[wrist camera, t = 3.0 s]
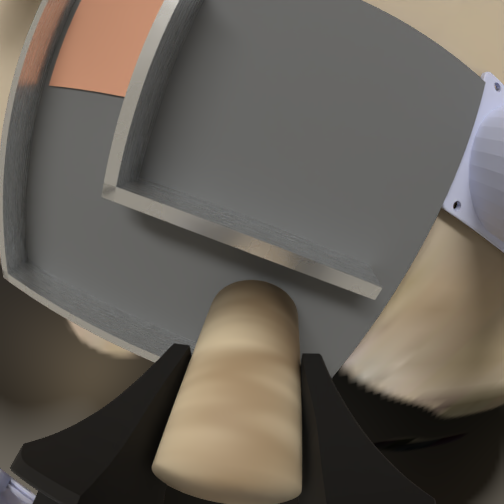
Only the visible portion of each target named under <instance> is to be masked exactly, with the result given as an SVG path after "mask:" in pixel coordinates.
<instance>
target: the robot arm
mask: <svg viewBox="0 0 504 504" xmlns="http://www.w3.org/2000/svg"><path fill="white" fill-rule="evenodd" d="M481 79H482V80H484V81H485V82H486V83H485V87H484V91H483V95H482V99H481V103H480V106H479V110H478V113H477V117H476V120H475V123H474V126H473V129H472V132H471V135H470V138H469V141H468V144H467V147H466V150H465V152H464V155H463V158H462V160H461V163H460V165H459V168H458V170H457V173H456V175H455V178H454V180H453V183H452V185H451V187H450V189H449V192H448V194H447V196H446V198H445V201H444V203H443V205H442V207H441V208H442V209H444V210H445V211H447V212H448V213H450V214H451V215H453V216H454V217H456V218H457V219H459V220H460V221H462V222H463V223H464V224H466V225H467V226H469V227H470V228H472V229H473V230H474V231H476V232H477V233H478V234H480V235H481V236H482V237H484V238H485V239H486V240H488V241H489V242H490V243H492V244H493V245H494V246H496V247H497V248H498V249H499V250H501V251H502V252H503V253H504V85H503V84H502V83H501V82H500V81H499V80H498V79H497V78H496V77H495V76H494V75H493V74H492V73H490V72H484V73H482V75H481ZM494 84H495V86H496V89H495V87H494ZM456 201H457V206H456V208H455V209H453V205H454V203H455V202H456ZM191 357H192V355H191V349H190V345H184V344H176V343H174V344H173V345H172V346H171V347H170V348H169V349H168V350H167V351H166V352H165V353H164V354H163V355H162V356H161V357H160V358H159V359H158V360H157V361H156V362H155V363H154V364H153V365H152V366H151V367H150V368H149V369H148V370H147V371H146V372H145V373H144V374H143V375H142V376H141V377H140V378H139V379H138V380H137V381H135V382H134V383H133V384H132V385H131V386H130V387H129V388H128V389H126V390H125V391H124V392H123V393H122V394H120V395H119V396H118V397H117V398H115V399H114V400H113V401H111V402H110V403H109V404H107V405H106V406H105V407H103V408H102V409H100V410H99V411H97V412H96V413H94V414H92V415H91V416H89V417H87V418H86V419H84V420H82V421H80V422H79V423H77V424H75V425H73V426H71V427H69V428H67V429H65V430H62V431H60V432H58V433H55V434H53V435H50V436H48V437H45V438H42V439H39V440H35V441H32V442H29V443H25V444H23V446H22V448H21V449H20V451H19V453H18V454H17V456H16V458H15V460H14V462H13V463H12V465H11V467H10V469H11V471H12V472H14V473H15V474H16V475H17V476H19V477H20V478H21V479H22V480H24V481H25V482H26V483H28V484H29V485H31V486H32V487H33V488H35V489H36V490H38V493H37V495H35V494H33V493H32V492H31V491H30V490H28V489H27V488H26V487H24V486H23V485H21V484H20V483H19V482H18V481H16V480H15V479H14V478H12V477H11V476H10V475H8V474H7V473H6V472H4V471H3V470H2V469H1V468H0V504H163V503H164V496H165V491H166V486H167V484H166V483H164V482H163V481H161V480H160V479H159V478H158V477H156V476H155V474H154V473H153V471H152V464H153V461H154V459H155V456H156V453H157V450H158V447H159V444H160V441H161V439H162V436H163V433H164V430H165V427H166V425H167V422H168V419H169V416H170V413H171V411H172V408H173V405H174V402H175V400H176V397H177V394H178V392H179V389H180V386H181V383H182V381H183V378H184V375H185V373H186V370H187V367H188V365H189V362H190V359H191ZM300 368H301V398H302V492H301V493H300V495H299V498H298V504H436V502H435V499H434V498H433V497H431V496H430V495H428V494H427V493H425V492H424V491H423V490H421V489H420V488H419V487H418V486H416V485H415V484H414V483H412V482H411V481H410V480H409V479H408V478H406V477H405V476H404V475H403V474H402V473H400V471H399V470H397V468H396V467H395V466H394V465H393V464H392V463H391V462H390V461H389V460H388V459H387V458H386V457H385V456H384V455H383V454H382V453H381V452H380V451H379V450H378V448H377V447H376V446H375V445H374V444H373V443H372V441H371V440H370V439H369V438H368V436H367V435H366V434H365V433H364V431H363V430H362V428H361V427H360V426H359V424H358V423H357V421H356V420H355V418H354V417H353V415H352V414H351V412H350V411H349V409H348V407H347V406H346V404H345V402H344V401H343V399H342V397H341V395H340V393H339V392H338V390H337V388H336V386H335V384H334V382H333V380H332V378H331V376H330V374H329V372H328V370H327V367H326V365H325V363H324V360H323V358H322V356H321V355H320V354H319V353H302V359H301V365H300Z"/></svg>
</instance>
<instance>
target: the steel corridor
mask: <svg viewBox="0 0 504 504" xmlns="http://www.w3.org/2000/svg"><path fill="white" fill-rule="evenodd" d="M74 2H75V0H42V2H41V4H40V6H39V8H38V10H37V12H36V15H35V17H34V19H33V22H32V24H31V27H30V29H29V32H28V34H27V37H26V40H25V42H24V45H23V48H22V51H21V54H20V57H19V60H18V63H17V67H16V70H15V74H14V77H13V81H12V85H11V89H10V94H9V98H8V103H7V108H6V113H5V119H4V125H3V131H2V139H1V147H0V254H1V263H2V270H3V277H4V278H5V279H6V280H8V281H9V282H10V283H12V284H14V285H15V286H16V287H18V288H19V289H21V290H22V291H23V292H25V293H26V294H28V295H29V296H31V297H32V298H34V299H35V300H37V301H38V302H40V303H42V304H43V305H45V306H46V307H48V308H50V309H51V310H53V311H55V312H56V313H58V314H59V315H61V316H63V317H65V318H66V319H68V320H70V321H72V322H73V323H75V324H77V325H79V326H80V327H82V328H84V329H86V330H88V331H90V332H92V333H93V334H95V335H97V336H99V337H101V338H103V339H105V340H107V341H109V342H111V343H113V344H115V345H117V346H119V347H122V348H124V349H126V350H128V351H130V352H132V353H134V354H137V355H139V356H141V357H143V358H146V359H148V360H150V361H153V362H156V361H157V360H158V359H159V358H160V357H161V356H162V355H163V354H164V353H165V352H166V351H167V350H168V349H169V348H170V347H171V346H172V345H173V344H174V343H176V344H184V345H190V349H191V355H192V354H193V351H194V349H195V346H196V343H197V342H196V341H193V340H190V339H188V338H185V337H183V336H180V335H178V334H175V333H173V332H170V331H168V330H165V329H163V328H160V327H158V326H156V325H153V324H151V323H149V322H146V321H144V320H142V319H139V318H137V317H135V316H133V315H131V314H128V313H126V312H124V311H122V310H120V309H118V308H115V307H113V306H111V305H109V304H107V303H105V302H103V301H101V300H99V299H97V298H95V297H93V296H91V295H89V294H87V293H85V292H83V291H81V290H79V289H77V288H76V287H74V286H72V285H70V284H68V283H66V282H64V281H63V280H61V279H59V278H57V277H55V276H54V275H52V274H50V273H48V272H47V271H45V270H43V269H42V268H40V267H38V266H37V265H35V264H33V263H32V262H30V261H28V260H27V251H26V192H27V177H28V167H29V158H30V150H31V143H32V136H33V130H34V125H35V120H36V115H37V110H38V105H39V101H40V97H41V93H42V89H43V85H44V82H45V78H46V75H47V71H48V68H49V65H50V62H51V59H52V56H53V53H54V50H55V47H56V44H57V42H58V39H59V37H60V34H61V32H62V29H63V27H64V24H65V22H66V20H67V17H68V15H69V13H70V11H71V9H72V6H73V4H74ZM202 2H203V0H164V2H163V4H162V6H161V8H160V10H159V12H158V14H157V16H156V18H155V20H154V22H153V24H152V27H151V29H150V31H149V33H148V36H147V38H146V40H145V43H144V45H143V48H142V50H141V53H140V55H139V58H138V60H137V63H136V66H135V68H134V71H133V74H132V77H131V80H130V83H129V86H128V89H127V92H126V95H125V98H124V101H123V104H122V108H121V111H120V115H119V118H118V122H117V126H116V129H115V133H114V137H113V141H112V146H111V150H110V154H109V159H108V164H107V168H106V173H105V179H104V184H103V190H102V196H101V197H103V198H105V199H108V200H111V201H113V202H116V203H119V204H121V205H124V206H127V207H129V208H132V209H134V210H137V211H140V212H142V213H145V214H148V215H150V216H153V217H156V218H158V219H161V220H163V221H166V222H169V223H171V224H174V225H177V226H179V227H182V228H185V229H187V230H190V231H193V232H195V233H198V234H200V235H203V236H206V237H208V238H211V239H214V240H216V241H219V242H222V243H224V244H227V245H230V246H232V247H235V248H238V249H240V250H243V251H246V252H248V253H251V254H253V255H256V256H259V257H261V258H264V259H267V260H269V261H272V262H275V263H277V264H280V265H283V266H285V267H288V268H291V269H293V270H296V271H299V272H301V273H304V274H307V275H309V276H312V277H315V278H317V279H320V280H323V281H325V282H328V283H331V284H333V285H336V286H339V287H341V288H344V289H347V290H349V291H352V292H355V293H357V294H360V295H363V296H365V297H368V298H371V299H373V300H375V299H376V298H377V296H378V295H379V293H380V291H381V290H382V286H381V284H380V282H379V281H378V279H377V277H376V275H375V274H374V272H373V270H372V268H371V267H370V265H368V264H365V263H363V262H361V261H358V260H356V259H353V258H351V257H349V256H346V255H344V254H341V253H339V252H336V251H334V250H332V249H329V248H327V247H324V246H322V245H319V244H317V243H314V242H312V241H309V240H307V239H304V238H302V237H299V236H297V235H294V234H292V233H289V232H287V231H284V230H282V229H279V228H276V227H274V226H271V225H269V224H266V223H264V222H261V221H258V220H256V219H253V218H250V217H248V216H245V215H243V214H240V213H237V212H235V211H232V210H229V209H226V208H224V207H221V206H218V205H216V204H213V203H210V202H207V201H205V200H202V199H199V198H196V197H194V196H191V195H188V194H185V193H183V192H180V191H177V190H174V189H171V188H168V187H166V186H163V185H160V184H157V183H154V182H151V181H148V180H145V179H142V178H139V176H140V172H141V168H142V164H143V160H144V156H145V153H146V149H147V145H148V142H149V138H150V135H151V131H152V128H153V125H154V122H155V118H156V115H157V112H158V109H159V106H160V103H161V100H162V97H163V94H164V91H165V88H166V86H167V83H168V80H169V77H170V75H171V72H172V70H173V67H174V64H175V62H176V59H177V57H178V54H179V52H180V50H181V47H182V45H183V43H184V40H185V38H186V36H187V33H188V31H189V29H190V27H191V25H192V23H193V20H194V18H195V16H196V14H197V12H198V10H199V8H200V6H201V4H202Z"/></svg>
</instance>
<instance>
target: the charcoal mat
mask: <svg viewBox="0 0 504 504" xmlns="http://www.w3.org/2000/svg"><path fill="white" fill-rule="evenodd" d="M163 2H164V0H75V2H74V4H73V6H72V9H71V11H70V13H69V15H68V17H67V20H66V22H65V24H64V27H63V29H62V32H61V34H60V37H59V39H58V42H57V44H56V47H55V50H54V53H53V56H52V59H51V62H50V65H49V68H48V71H47V75H46V78H45V82H44V85H43V89H42V93H41V97H40V101H39V105H38V110H37V115H36V120H35V125H34V130H33V136H32V143H31V150H30V158H29V167H28V177H27V192H26V251H27V260H28V261H30V262H32V263H33V264H35V265H37V266H38V267H40V268H42V269H43V270H45V271H47V272H48V273H50V274H52V275H54V276H55V277H57V278H59V279H61V280H63V281H64V282H66V283H68V284H70V285H72V286H74V287H76V288H77V289H79V290H81V291H83V292H85V293H87V294H89V295H91V296H93V297H95V298H97V299H99V300H101V301H103V302H105V303H107V304H109V305H111V306H113V307H115V308H118V309H120V310H122V311H124V312H126V313H128V314H131V315H133V316H135V317H137V318H139V319H142V320H144V321H146V322H149V323H151V324H153V325H156V326H158V327H160V328H163V329H165V330H168V331H170V332H173V333H175V334H178V335H180V336H183V337H185V338H188V339H190V340H193V341H196V342H197V341H198V338H199V335H200V333H201V330H202V328H203V325H204V322H205V320H206V317H207V314H208V312H209V309H210V307H211V304H212V302H213V300H214V298H215V296H216V295H217V294H218V293H219V291H221V290H222V289H223V288H224V287H226V286H228V285H230V284H232V283H235V282H238V281H243V280H260V281H265V282H268V283H271V284H273V285H276V286H277V287H279V288H281V289H282V290H284V291H285V292H286V293H287V294H288V295H289V296H290V297H291V298H292V300H293V301H294V303H295V305H296V308H297V312H298V324H299V344H300V365H301V359H302V353H319V354H320V355H321V356H322V358H323V360H324V363H325V365H326V367H327V370H328V372H329V374H330V376H331V378H332V377H333V376H334V375H335V373H336V372H337V371H338V370H339V369H340V367H341V366H342V365H343V364H344V362H345V361H346V360H347V359H348V357H349V356H350V355H351V353H352V352H353V351H354V349H355V348H356V347H357V346H358V344H359V343H360V342H361V340H362V339H363V337H364V336H365V335H366V333H367V332H368V331H369V329H370V328H371V326H372V325H373V324H374V322H375V321H376V319H377V318H378V316H379V315H380V313H381V312H382V310H383V309H384V307H385V306H386V304H387V303H388V301H389V300H390V298H391V297H392V295H393V294H394V292H395V291H396V289H397V287H398V286H399V284H400V283H401V281H402V279H403V278H404V276H405V274H406V273H407V271H408V269H409V268H410V266H411V264H412V262H413V261H414V259H415V257H416V255H417V254H418V252H419V250H420V248H421V246H422V245H423V243H424V241H425V239H426V237H427V235H428V233H429V231H430V229H431V227H432V225H433V223H434V221H435V219H436V217H437V215H438V213H439V211H440V209H441V207H442V205H443V203H444V201H445V198H446V196H447V194H448V192H449V189H450V187H451V185H452V183H453V180H454V178H455V175H456V173H457V170H458V168H459V165H460V163H461V160H462V158H463V155H464V152H465V150H466V147H467V144H468V141H469V138H470V135H471V132H472V129H473V126H474V123H475V120H476V117H477V113H478V110H479V106H480V103H481V99H482V95H483V91H484V87H485V83H486V82H485V81H484V80H482V79H481V78H480V77H479V76H478V75H477V74H476V73H475V72H473V71H472V70H471V69H470V68H469V67H467V66H466V65H465V64H464V63H462V62H461V61H460V60H459V59H457V58H456V57H455V56H454V55H452V54H451V53H450V52H448V51H447V50H446V49H444V48H443V47H441V46H440V45H439V44H437V43H436V42H434V41H433V40H431V39H430V38H428V37H427V36H425V35H424V34H422V33H421V32H419V31H418V30H416V29H414V28H413V27H411V26H409V25H408V24H406V23H404V22H403V21H401V20H399V19H397V18H396V17H394V16H392V15H390V14H388V13H386V12H384V11H382V10H380V9H379V8H377V7H374V6H372V5H370V4H368V3H366V2H364V1H362V0H203V2H202V4H201V6H200V8H199V10H198V12H197V14H196V16H195V18H194V20H193V23H192V25H191V27H190V29H189V31H188V33H187V36H186V38H185V40H184V43H183V45H182V47H181V50H180V52H179V54H178V57H177V59H176V62H175V64H174V67H173V70H172V72H171V75H170V77H169V80H168V83H167V86H166V88H165V91H164V94H163V97H162V100H161V103H160V106H159V109H158V112H157V115H156V118H155V122H154V125H153V128H152V131H151V135H150V138H149V142H148V145H147V149H146V153H145V156H144V160H143V164H142V168H141V172H140V176H139V178H142V179H145V180H148V181H151V182H154V183H157V184H160V185H163V186H166V187H168V188H171V189H174V190H177V191H180V192H183V193H185V194H188V195H191V196H194V197H196V198H199V199H202V200H205V201H207V202H210V203H213V204H216V205H218V206H221V207H224V208H226V209H229V210H232V211H235V212H237V213H240V214H243V215H245V216H248V217H250V218H253V219H256V220H258V221H261V222H264V223H266V224H269V225H271V226H274V227H276V228H279V229H282V230H284V231H287V232H289V233H292V234H294V235H297V236H299V237H302V238H304V239H307V240H309V241H312V242H314V243H317V244H319V245H322V246H324V247H327V248H329V249H332V250H334V251H336V252H339V253H341V254H344V255H346V256H349V257H351V258H353V259H356V260H358V261H361V262H363V263H365V264H368V265H370V267H371V268H372V270H373V272H374V274H375V275H376V277H377V279H378V281H379V282H380V284H381V286H382V290H381V291H380V293H379V295H378V296H377V298H376V299H375V300H373V299H371V298H368V297H365V296H363V295H360V294H357V293H355V292H352V291H349V290H347V289H344V288H341V287H339V286H336V285H333V284H331V283H328V282H325V281H323V280H320V279H317V278H315V277H312V276H309V275H307V274H304V273H301V272H299V271H296V270H293V269H291V268H288V267H285V266H283V265H280V264H277V263H275V262H272V261H269V260H267V259H264V258H261V257H259V256H256V255H253V254H251V253H248V252H246V251H243V250H240V249H238V248H235V247H232V246H230V245H227V244H224V243H222V242H219V241H216V240H214V239H211V238H208V237H206V236H203V235H200V234H198V233H195V232H193V231H190V230H187V229H185V228H182V227H179V226H177V225H174V224H171V223H169V222H166V221H163V220H161V219H158V218H156V217H153V216H150V215H148V214H145V213H142V212H140V211H137V210H134V209H132V208H129V207H127V206H124V205H121V204H119V203H116V202H113V201H111V200H108V199H105V198H103V197H101V196H102V190H103V184H104V179H105V173H106V168H107V164H108V159H109V154H110V150H111V146H112V141H113V137H114V133H115V129H116V126H117V122H118V118H119V115H120V111H121V108H122V104H123V101H124V98H125V95H126V92H127V89H128V86H129V83H130V80H131V77H132V74H133V71H134V68H135V66H136V63H137V60H138V58H139V55H140V53H141V50H142V48H143V45H144V43H145V40H146V38H147V36H148V33H149V31H150V29H151V27H152V24H153V22H154V20H155V18H156V16H157V14H158V12H159V10H160V8H161V6H162V4H163Z"/></svg>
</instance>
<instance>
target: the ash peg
mask: <svg viewBox="0 0 504 504" xmlns="http://www.w3.org/2000/svg"><path fill="white" fill-rule="evenodd" d="M152 471H153V473H154V474H155V476H156V477H158V478H159V479H160V480H161V481H163V482H164V483H166V484H167V485H169V486H171V487H173V488H175V489H177V490H179V491H181V492H184V493H186V494H189V495H192V496H195V497H198V498H202V499H205V500H209V501H214V502H219V503H226V504H277V503H281V502H286V501H289V500H291V499H294V498H296V497H297V496H299V495H300V493H301V492H302V398H301V368H300V344H299V324H298V312H297V308H296V305H295V303H294V301H293V300H292V298H291V297H290V296H289V295H288V294H287V293H286V292H285V291H284V290H282V289H281V288H279V287H277V286H276V285H273V284H271V283H268V282H265V281H260V280H243V281H238V282H235V283H232V284H230V285H228V286H226V287H224V288H223V289H222V290H221V291H219V293H218V294H217V295H216V296H215V298H214V300H213V302H212V304H211V307H210V309H209V312H208V314H207V317H206V320H205V322H204V325H203V328H202V330H201V333H200V335H199V338H198V341H197V343H196V346H195V349H194V351H193V354H192V357H191V359H190V362H189V365H188V367H187V370H186V373H185V375H184V378H183V381H182V383H181V386H180V389H179V392H178V394H177V397H176V400H175V402H174V405H173V408H172V411H171V413H170V416H169V419H168V422H167V425H166V427H165V430H164V433H163V436H162V439H161V441H160V444H159V447H158V450H157V453H156V456H155V459H154V461H153V464H152Z"/></svg>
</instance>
